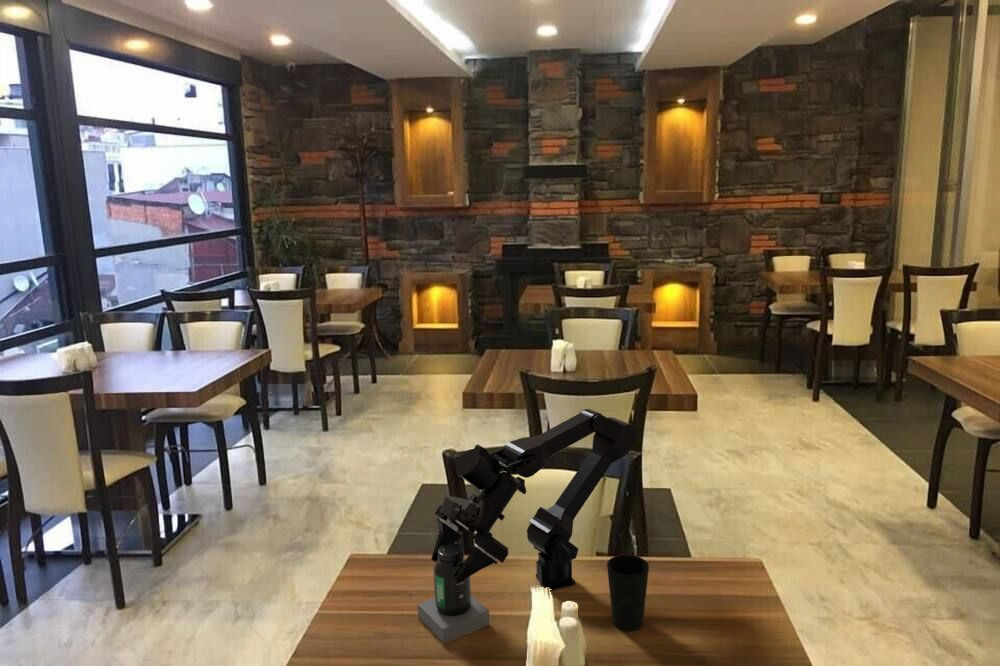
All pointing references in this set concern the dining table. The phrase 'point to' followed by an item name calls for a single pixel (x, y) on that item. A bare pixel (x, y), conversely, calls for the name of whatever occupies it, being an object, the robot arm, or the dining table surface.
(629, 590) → the cup
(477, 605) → the plinth
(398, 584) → the dining table surface
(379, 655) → the dining table surface
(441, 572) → the supplement bottle
